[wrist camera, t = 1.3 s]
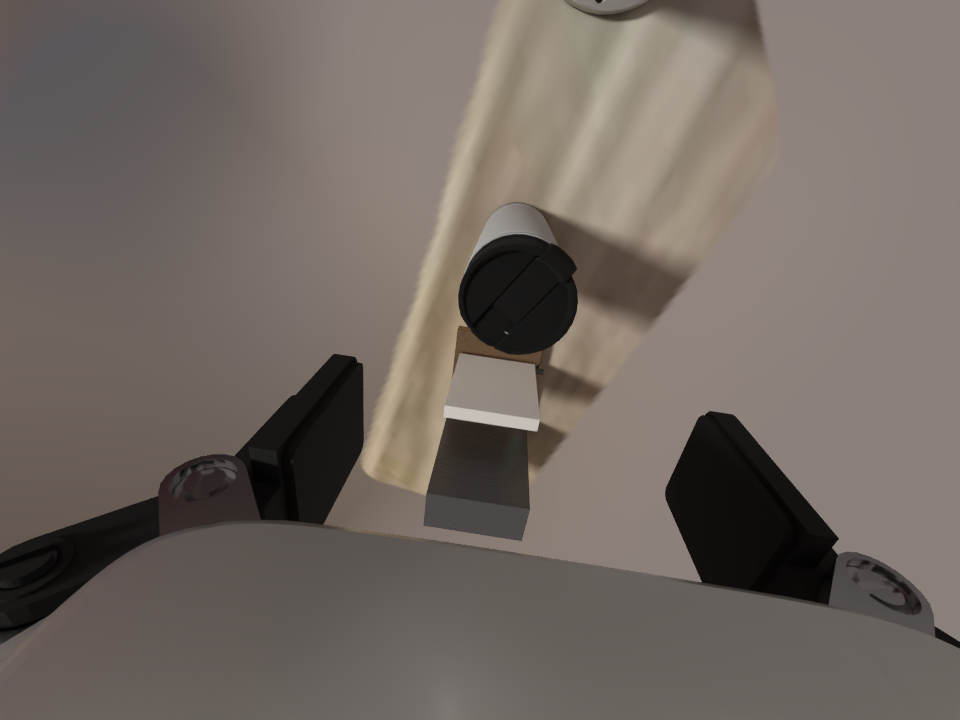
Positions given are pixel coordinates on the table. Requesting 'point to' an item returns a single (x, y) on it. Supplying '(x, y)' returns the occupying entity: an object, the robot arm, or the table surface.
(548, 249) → the travel mug
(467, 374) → the white flat slab
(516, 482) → the grey bracket
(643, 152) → the table surface
